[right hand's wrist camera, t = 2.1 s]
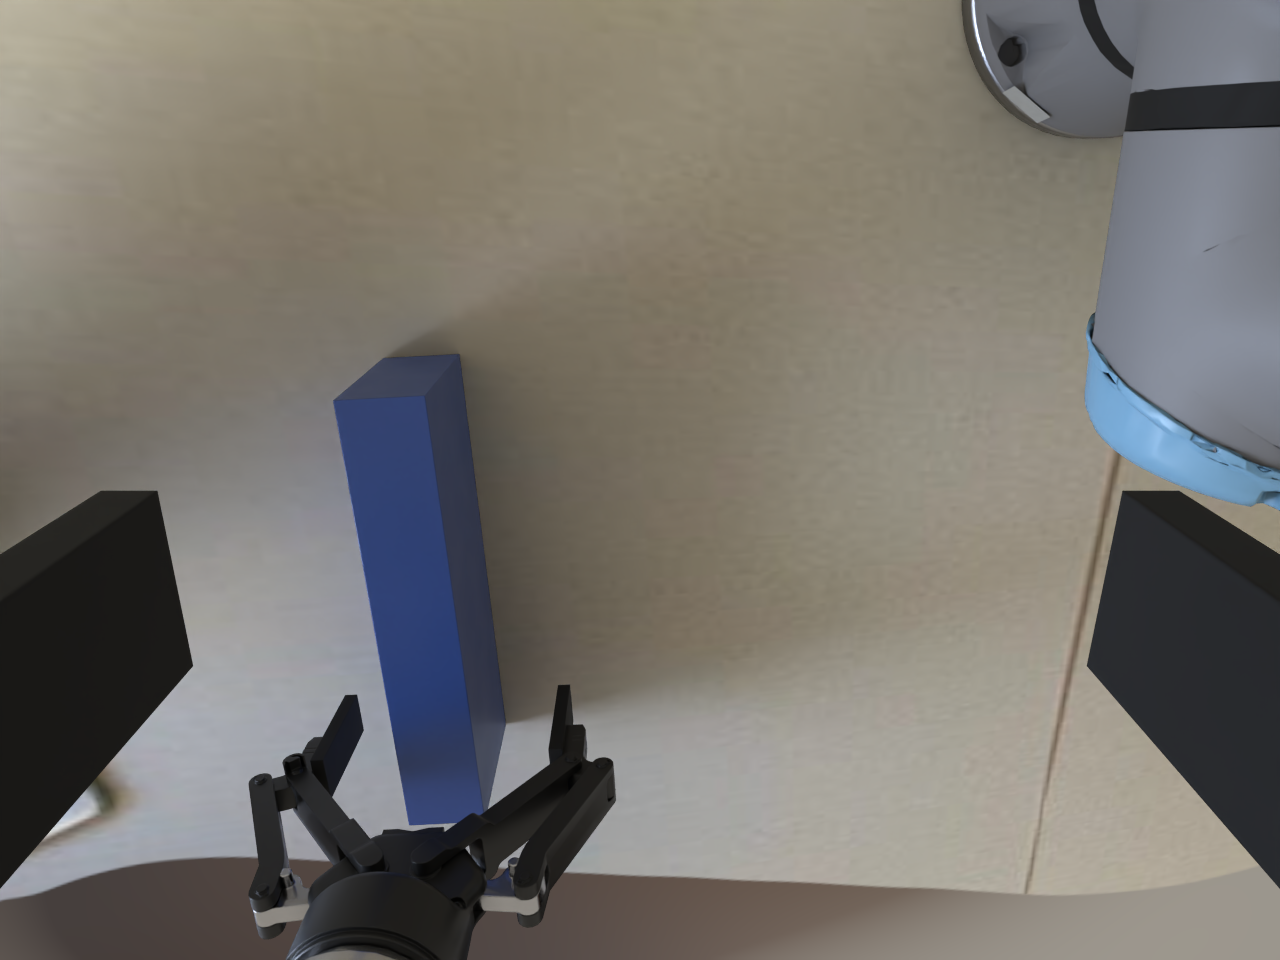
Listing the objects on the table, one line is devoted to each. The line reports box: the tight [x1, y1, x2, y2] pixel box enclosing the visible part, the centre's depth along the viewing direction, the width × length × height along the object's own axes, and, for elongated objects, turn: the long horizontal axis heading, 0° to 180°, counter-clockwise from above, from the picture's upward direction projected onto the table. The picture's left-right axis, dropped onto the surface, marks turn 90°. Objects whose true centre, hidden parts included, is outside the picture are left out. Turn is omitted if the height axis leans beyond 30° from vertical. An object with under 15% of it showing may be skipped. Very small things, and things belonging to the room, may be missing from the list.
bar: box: [333, 354, 506, 825], centre depth 52 cm, size 26×4×9 cm, turn 3°
